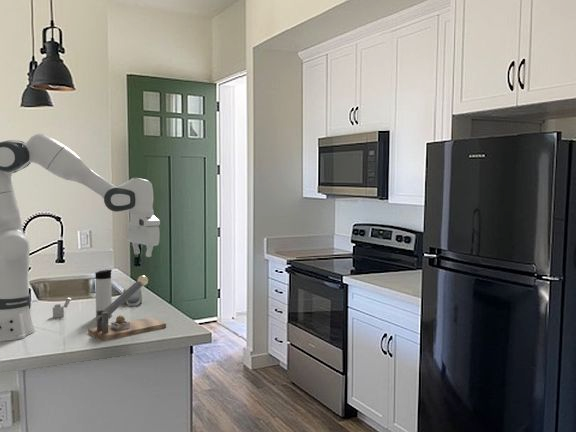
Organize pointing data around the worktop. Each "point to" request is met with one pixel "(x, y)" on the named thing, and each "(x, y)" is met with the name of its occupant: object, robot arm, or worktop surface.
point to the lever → (124, 296)
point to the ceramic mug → (134, 298)
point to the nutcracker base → (129, 331)
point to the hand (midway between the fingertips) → (142, 255)
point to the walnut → (120, 319)
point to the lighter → (60, 309)
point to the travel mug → (103, 290)
